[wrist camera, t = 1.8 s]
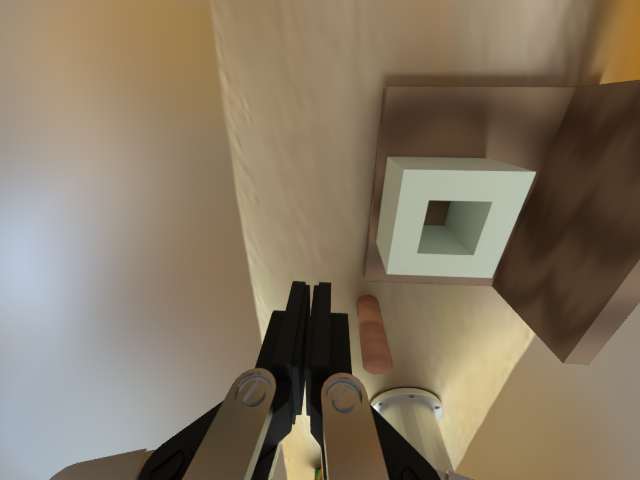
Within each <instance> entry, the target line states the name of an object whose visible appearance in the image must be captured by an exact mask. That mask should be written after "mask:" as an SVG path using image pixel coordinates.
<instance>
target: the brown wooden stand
mask: <svg viewBox="0 0 640 480" xmlns="http://www.w3.org/2000/svg"><path fill="white" fill-rule="evenodd" d="M387 157H446V158H488V159H492V160H496V161H499V162H503V163H506V164H510V165H514V166H517V167H521V168H524V169H528V170H532V171H535V172H536V174H535V177H534V179H533V182H532V184H531V186H530V189H529V191H528V193H527V196H526V198H525V201H524V203H523V205H522V208H521V210H520V213H519V215H518V217H517V220H516V222H515V225H514V227H513V229H512V232H511V234H510V237H509V239H508V241H507V244H506V246H505V248H504V251H503V253H502V256H501V258H500V260H499V263H498V265H497V268H496V270H495V272H494V275H493V277H492V278H474V277H448V276H422V275H396V274H386V271H385V268H384V265H383V262H382V259H381V256H380V253H379V249H378V246H377V243H376V239H377V232H378V224H379V216H380V209H381V201H382V194H383V186H384V178H385V171H386V163H387ZM450 202H451V201H440V200H429V202H428V207H427V211H426V215H425V220H424V224H423V225H436V226H444V224H445V221H446V217H447V213H448V210H449V206H450ZM364 279H365V281H374V282H400V283H425V284H450V285H476V286H492V287H493V288H494V289H495V290H496V291H497V292H498V293H499V294H500V295H501V297H502V298H503V299H504V300H505V301H506V302H507V303H508V304H509V305H510V306H511V307H512V309H513V310H514V311H515V312H516V313H517V314H518V315H519V316H520V317H521V318H522V319H523V320H524V322H525V323H526V324H527V325H528V326H529V327H530V328H531V329H532V330H533V331H534V332H535V333H536V335H537V336H538V337H539V338H540V339H541V340H542V341H543V342H544V343H545V344H546V345H547V346H548V347H549V349H550V350H551V351H552V352H553V353H554V354H555V355H556V356H557V357H558V358H559V359H560V361H561V362H562V363H565V364H566V363H567V364H584V365H589V364H590V363H591V361H592V360H593V359H594V358H595V356H596V355H597V354H598V353H599V352H600V350H601V349H602V348H603V347H604V345H605V344H606V343H607V341H609V339H610V338H611V337H612V336H613V334H614V333H615V332H616V330H617V329H618V328H619V327H620V326H621V325H622V323H623V322H624V321H625V319H626V318H627V317H628V316H629V315H630V313H631V312H632V311H633V310H634V309H635V307H636V306H637V305H638V303H639V302H640V80H634V81H625V82H617V83H608V84H600V85H591V86H583V87H386V88H384V95H383V104H382V113H381V122H380V131H379V139H378V148H377V157H376V166H375V175H374V184H373V193H372V202H371V211H370V220H369V229H368V238H367V247H366V256H365V265H364Z"/></svg>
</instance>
